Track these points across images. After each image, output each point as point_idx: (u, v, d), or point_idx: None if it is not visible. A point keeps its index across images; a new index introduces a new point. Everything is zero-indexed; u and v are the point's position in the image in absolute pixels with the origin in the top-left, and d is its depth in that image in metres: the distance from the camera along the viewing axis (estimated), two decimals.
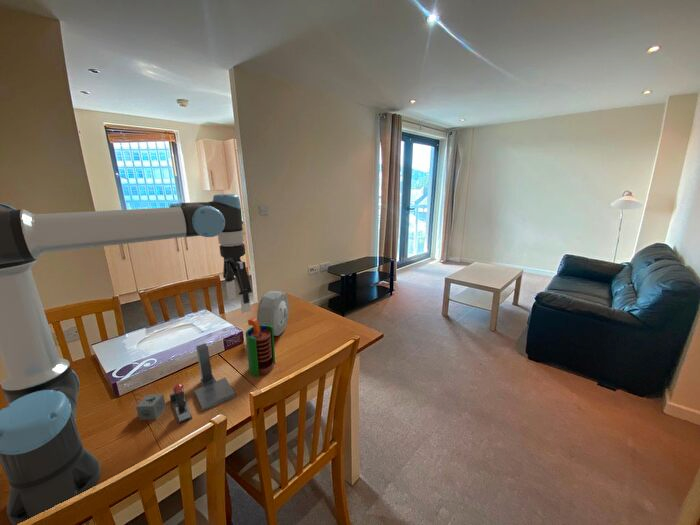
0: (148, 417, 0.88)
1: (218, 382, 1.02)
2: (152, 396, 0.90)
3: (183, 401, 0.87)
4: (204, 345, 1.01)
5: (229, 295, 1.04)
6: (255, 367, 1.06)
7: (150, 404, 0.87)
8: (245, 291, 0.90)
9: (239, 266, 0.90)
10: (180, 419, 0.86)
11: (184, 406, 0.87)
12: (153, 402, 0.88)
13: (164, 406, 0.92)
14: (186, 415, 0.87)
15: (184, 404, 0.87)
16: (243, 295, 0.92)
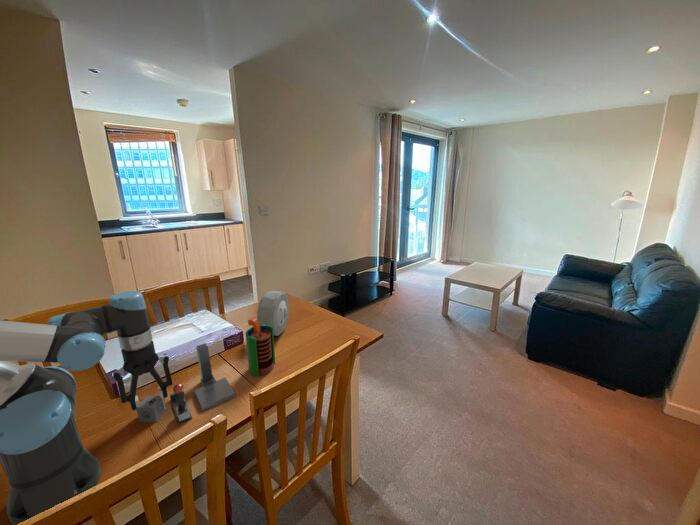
0: (148, 419, 0.87)
1: (218, 382, 1.02)
2: (152, 398, 0.90)
3: (183, 401, 0.87)
4: (204, 345, 1.01)
5: None
6: (255, 367, 1.06)
7: (150, 406, 0.86)
8: None
9: None
10: (180, 419, 0.86)
11: (184, 406, 0.87)
12: (153, 404, 0.87)
13: None
14: (186, 415, 0.87)
15: (184, 404, 0.87)
16: None
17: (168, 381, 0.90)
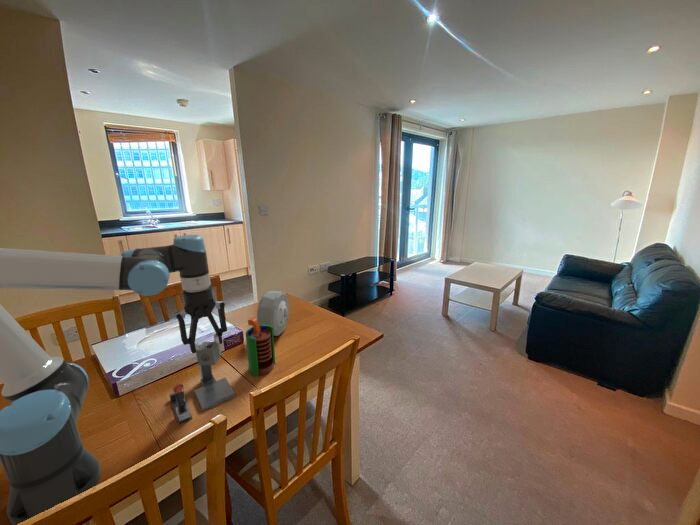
0: (207, 362, 0.90)
1: (218, 382, 1.02)
2: (209, 343, 0.92)
3: (183, 401, 0.87)
4: None
5: None
6: (255, 367, 1.06)
7: (209, 349, 0.89)
8: (182, 340, 0.87)
9: None
10: (180, 419, 0.86)
11: (184, 406, 0.87)
12: (212, 347, 0.90)
13: None
14: (186, 415, 0.87)
15: (184, 404, 0.87)
16: None
17: (223, 327, 0.93)
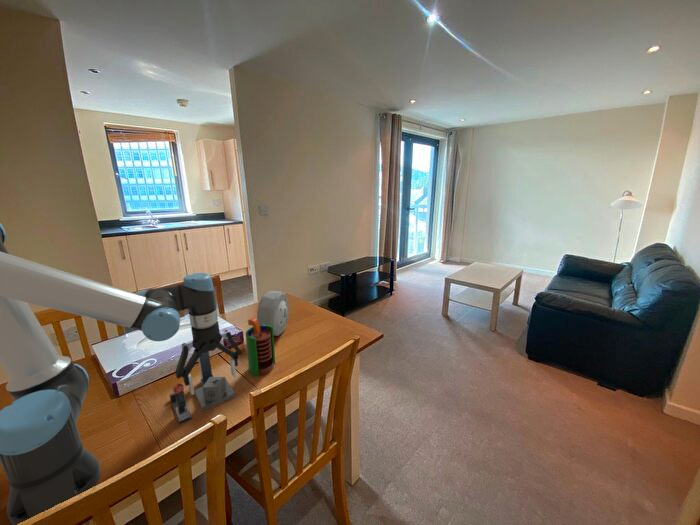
0: (213, 398, 0.93)
1: None
2: (215, 378, 0.96)
3: (183, 401, 0.87)
4: None
5: (231, 370, 1.00)
6: (255, 367, 1.06)
7: (215, 385, 0.93)
8: (175, 373, 0.88)
9: (182, 348, 0.88)
10: (180, 419, 0.86)
11: (184, 406, 0.87)
12: (217, 384, 0.93)
13: (225, 388, 0.97)
14: (186, 415, 0.87)
15: (184, 404, 0.87)
16: None
17: (238, 352, 0.98)
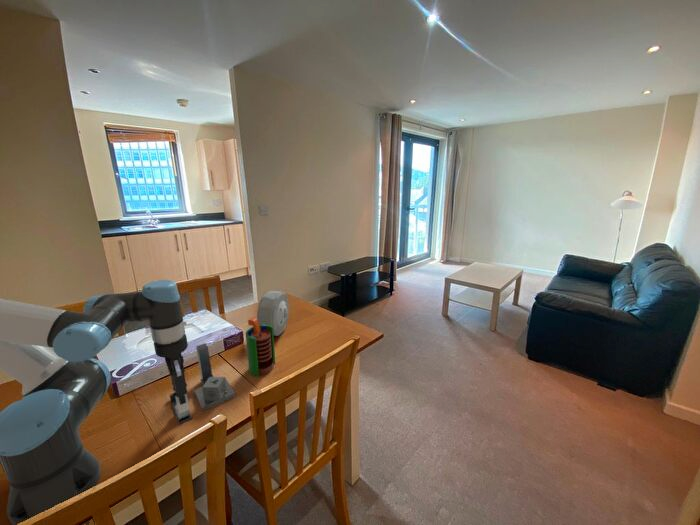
0: (213, 398, 0.93)
1: None
2: (215, 378, 0.96)
3: None
4: (204, 345, 1.01)
5: None
6: (255, 367, 1.06)
7: (215, 385, 0.93)
8: (179, 394, 0.80)
9: (176, 376, 0.76)
10: (179, 417, 0.87)
11: None
12: (217, 384, 0.93)
13: (225, 388, 0.97)
14: (185, 413, 0.88)
15: None
16: None
17: None
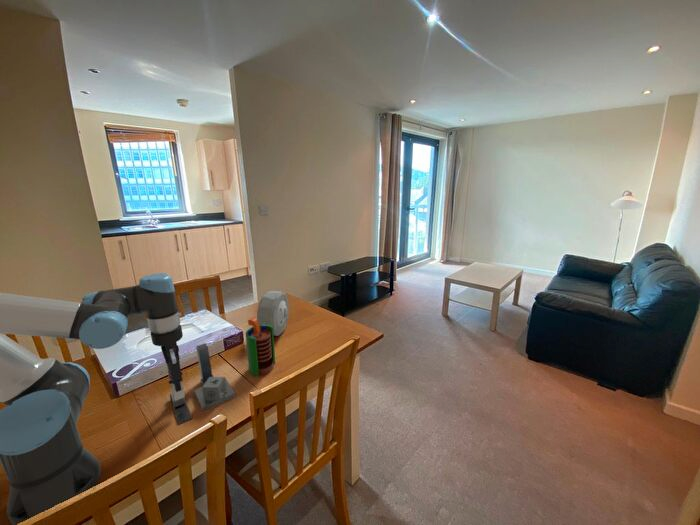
0: (213, 398, 0.93)
1: None
2: (215, 378, 0.96)
3: None
4: (204, 345, 1.01)
5: None
6: (255, 367, 1.06)
7: (215, 385, 0.93)
8: (174, 381, 0.85)
9: (171, 363, 0.81)
10: (175, 405, 0.92)
11: None
12: (217, 384, 0.93)
13: (225, 388, 0.97)
14: (181, 401, 0.92)
15: None
16: (174, 383, 0.87)
17: None
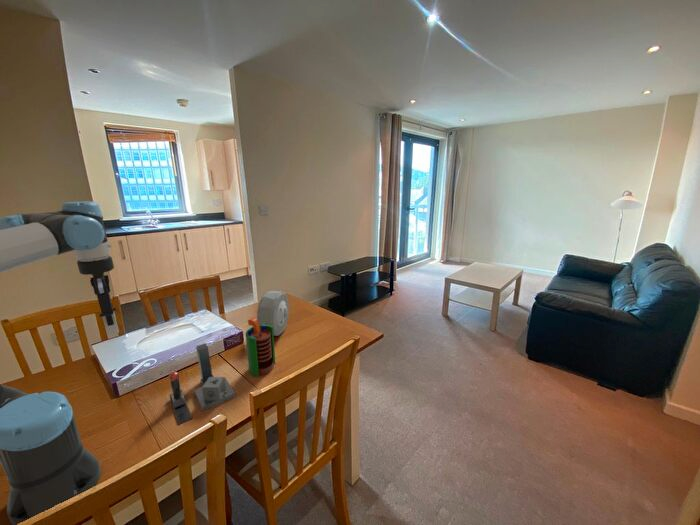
0: (212, 398, 0.93)
1: None
2: (214, 378, 0.96)
3: (178, 388, 0.92)
4: (204, 345, 1.01)
5: None
6: (255, 367, 1.06)
7: (215, 385, 0.93)
8: (104, 313, 0.83)
9: (98, 292, 0.80)
10: (175, 405, 0.91)
11: (179, 393, 0.92)
12: (217, 384, 0.93)
13: (225, 388, 0.97)
14: (181, 402, 0.92)
15: (179, 391, 0.92)
16: (105, 317, 0.86)
17: None
